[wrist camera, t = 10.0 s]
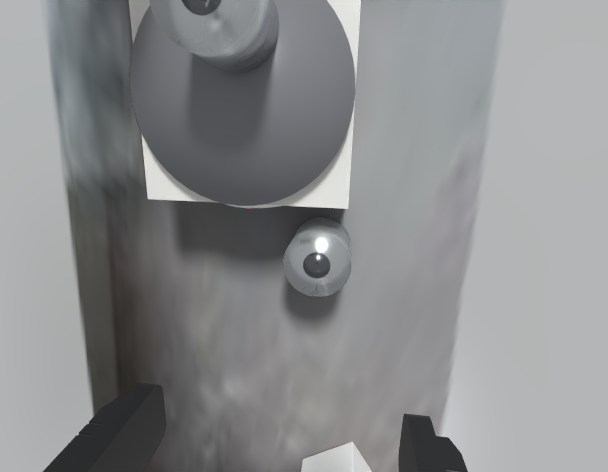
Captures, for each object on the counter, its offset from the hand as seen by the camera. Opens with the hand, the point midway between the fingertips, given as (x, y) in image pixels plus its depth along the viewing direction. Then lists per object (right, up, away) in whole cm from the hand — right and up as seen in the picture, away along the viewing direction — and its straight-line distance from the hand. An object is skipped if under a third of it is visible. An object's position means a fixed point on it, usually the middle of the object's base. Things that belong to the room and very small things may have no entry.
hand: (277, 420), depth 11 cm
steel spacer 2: (+2, +5, +19) cm, 20 cm away
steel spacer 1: (-3, +18, +9) cm, 20 cm away
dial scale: (-2, +17, +16) cm, 23 cm away
